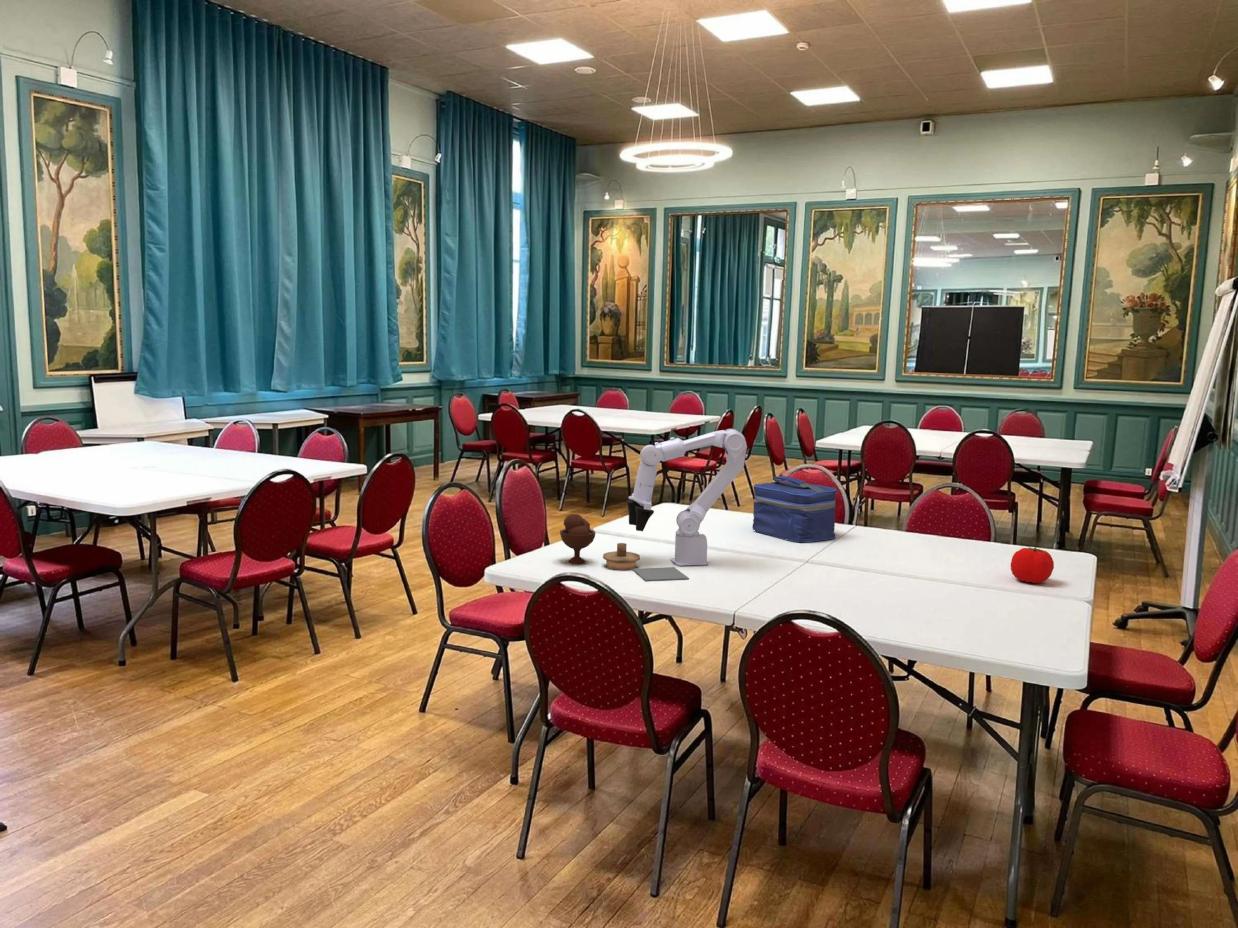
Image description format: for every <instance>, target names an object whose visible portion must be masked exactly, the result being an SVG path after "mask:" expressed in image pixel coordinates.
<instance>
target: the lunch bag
mask: <svg viewBox="0 0 1238 928" xmlns="http://www.w3.org/2000/svg"><path fill="white" fill-rule="evenodd" d="M772 480H773V481H772V482H764V483H755V484H754V485H753V493H754V496H753V497H754V500H753V520H752V522H753V523H752V531H753V530H755V531H757V532H756V533H758V532H761V533H760V534H763V533H764V534H763V535H767V534H769V535H768V536H771V535H772V536H771V537H774V536H775V538H778V537H779V538H778V539H781V538H782V540H784V539H787V540H786V541H788V540H790V541H789V542H793V541H794V543H799V542H804V543H813V542H814V541H815V542H820V541H826V540H832V539H835V538H836V533H835V526H836V524H835V523H836V522H835V519H836V517H835V515H836V503H837V501H836V495H837V489H836V488H835V487H830V486H825V485H820V484H812V483H807V482H806V481H805V480H801V479H798V478H794V477H790V476H784V475H778V476H774V477H772ZM755 531H754V532H755Z"/></svg>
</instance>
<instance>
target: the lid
mask: <svg viewBox="0 0 1238 928" xmlns="http://www.w3.org/2000/svg"><path fill="white" fill-rule="evenodd" d="M627 546H628V545H627V543H626V542H619V543H617V544H616V550H615V551H608V552H605V553H603V554H602V558H603V560H605V561H606V560H607V561H611V562H622V563H625V562H635V561H636V562H637V561H639V560H640V559H641V555H640V554H638V553H636V552H632V551H627Z"/></svg>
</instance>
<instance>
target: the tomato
mask: <svg viewBox="0 0 1238 928" xmlns="http://www.w3.org/2000/svg"><path fill="white" fill-rule="evenodd" d="M1011 557H1012V558H1011V561H1010V571H1011V574H1012V575H1013V576H1014V577H1015V579H1017V580H1019V581H1021V580H1022V581H1021V582H1023V581H1025V582H1024V583H1028V582H1032V583H1031V584H1042V583H1041V582H1043V583H1045V582H1046V581H1047V580H1049V578H1050V577H1051V576H1052V573H1053V570H1054V568H1055V567H1054V566H1055V563H1054V559H1053V557H1052V555H1051V554H1050V553H1049V552H1048V551H1047V550H1044V549H1041V548H1037V547H1033V548H1032V547H1030V546H1028V545H1027V547H1023V548H1020V549H1019V550H1017V551H1015V552H1014V554H1013V555H1012V556H1011Z"/></svg>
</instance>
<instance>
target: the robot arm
mask: <svg viewBox="0 0 1238 928" xmlns="http://www.w3.org/2000/svg"><path fill="white" fill-rule="evenodd" d="M710 446H714V447H717V448H722V449H724V451H725V460H726V462H725V464H724V465H723V466H722V467H721V469H720V470H719V471H718V472H717V473H716V474H715V476H714V478H712V479H711V481H710V482H709V483H708V484H707V486H706V487H705V489H703V490H702V492H700V494H699V495H698V497H697V498H696V499H695V500H694V501H693V502H692V503H691V504H689V505H688V506H687V507H686V509H684V510H681V511H680V512H678V514H677V515H676V520H675V521H676V524H677V526H678V529H677V530H676V531H675V537H674V538H675V540H674V557H672V558H670V561H671V562H672V563H674V564H676V566H678V567H681V566H703V565H704V566H705V565H708V562H707V561H708V539H707V536H706V535H705V534H704V533H700V532H699V529H700V527H701V524H702V522H703V521H704V519H705V517H706V515H707V513H708V511H710V509H711V508H712V507H713V505H714V504H715V503H716V502H717V501H718V499H719V498H720V497H721V496H722V494H723V493H724V492H725V491H726V490H727V488H728V487H729V486H730V484H731V483H732V482H733V481H734V480H735V479H736V478H737V476H738V475H739V474H740V472H741V471H742V470H743V469H744V467H745V460H746V452H747V448H748V445H747V441H746V437H745V436H744V435H743V433H742V432H740V431H738V430H736V429H734V428H727V429H725V430H724V429H722V430H716V431H715V430H714V431H711V432H708V433H705V434H702V435H698V436H695V437H691V438H688V439H685V440H682V439H681V438H679V437H676V438H675V437H674V436H673V437H669V440H666V441H661V442H659V441H657V442H654V445H653V444H647V445H645V446H643V448H642V449H641V451H640V454H639V456H640V462H639V467H638V468H637V472H636V478H635V483H634V488H633V493H631V495H629V496H628V500H626V504H627V510H628V525H632V526H635V530H636V531H637V532H638V531H639V532H643V531H644V530H645V527H646V526H647V524H648V521H649V520H650V518H651V517H652V516H653V515H654V513H655V510H653V509H652V506H653V504H652V497H653V492H654V487H655V482H656V477H657V473H658V471H657V469H658V465H659V464H660V462H667V461H671V460H674V459H677V458H682V457H684V455H685V454H686V452H687V451H691V450H692V451H693V450H696V449H700V448H705V447H710Z"/></svg>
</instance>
